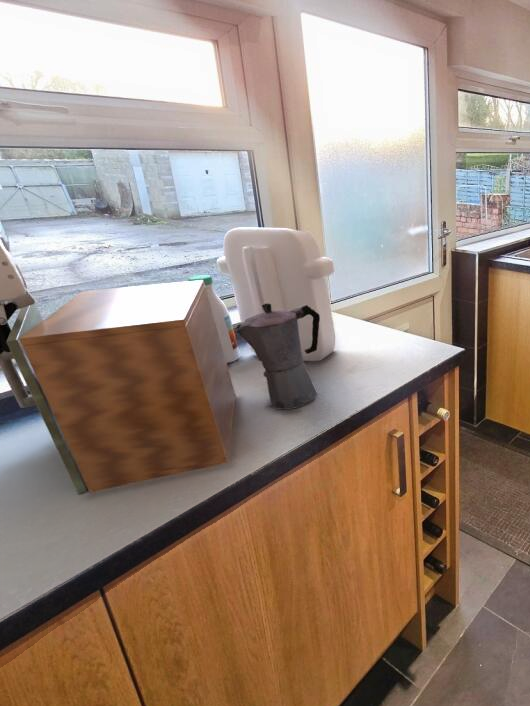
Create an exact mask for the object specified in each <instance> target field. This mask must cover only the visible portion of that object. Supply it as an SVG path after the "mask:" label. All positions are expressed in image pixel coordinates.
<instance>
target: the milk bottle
mask: <svg viewBox="0 0 530 706" xmlns="http://www.w3.org/2000/svg"><path fill="white" fill-rule="evenodd" d="M198 280H204V283H205V287H206V291H207V294H208V298H209V301H210V305H211V309H212V312H213V316H214V319H215V323H216V327H217V330H218V334H219V337H220V341H221V345H222V348H223V352H224V355H225V359H226V363H227V364H229V363H232V362H235V361H237V360H238V359H240V357H241V353H240V349H239V344H238V341H237V337H236V332H234V327H233V323H232V319H231V315H230V313H229V310H228V308H227V306H226V304H225V303H224V301H223V300H222V299H221V298H220V296H218V294H217V292H216V290H215V289H214V285H215V284H214V281H213V277H212V276H211V275H209V274H201V275H199V274H198V275H193V276H190V277H188V279H187V281H198Z"/></svg>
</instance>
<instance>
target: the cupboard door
mask: <svg viewBox="0 0 530 706" xmlns="http://www.w3.org/2000/svg"><path fill="white" fill-rule="evenodd" d="M36 303H37V302H35V303H34V304H32V305H29V306H27V307H24V308H21V309H19V311H18V313H17V316H16V319H15V321H14V323H13V325H12V328H11V332H10V334H9V337H8V339H7V341H6V342H7V344H8V346H9V349H10V351H11V352H5V351H4V352H2V354H0V369H1V371H2V373H3V375H4V378H5V380H6V382H7V383H8V385H9V387H10V390H11V392H12V394H13V396H14V397H15V400H16V402H17V404H18V405H19V408H22V409H25V408H29V407H35V406H36V407H37V409H38V411H39V414H40V416H41V418H42V420H43V423H44V425H45V427H46V428H47V431H48V433H49V435H50V437H51V439H52V441H53V444H54V445H55V448H56V450H57V452H58V454H59V456H60V458H61V460H62V462H63V465H64V466H65V469H66V471H67V473H68V475H69V477H70V479H71V481H72V483H73V485H74V487H75V491H76V492H77V494H78V495H82V494H85V493H87V492H88V487H87V485H86V483H85V481H84V479H83V477H82V474H81V472H80V470H79V468H78V466H77V464H76V461H75V459H74V457H73V455H72V453H71V451H70V448H69V446H68V444H67V442H66V440H65V438H64V435H63V433H62V431H61V429H60V427H59V425H58V422H57V420H56V418H55V416H54V414H53V412H52V409H51V407H50V405H49V403H48V401H47V399H46V396H45V394H44V392H43V390H42V388H41V386H40V383H39V381H38V379H37V377H36V375H35V373H34V370H33V368H32V366H31V364H30V362H29V360H28V357H27V355H26V353H25V351H24V349H23V347H22V344H21V342H20V340H19V338H20V337H22V336H23V335H24V334H26V333H27V332H28V331H30V330H31V329H32V328H34V327H35V326H36V325H38V324H39V323H40V322H42V321H43V320H44V319H43V317H42V315H41V312H40V310H39V308H38V305H37V304H36ZM13 360H14V361H13ZM14 362H15V363H16V365H17V368H18V369H17V368H16V365H15V363H14ZM18 370H19V372H20V374H21V376H22V378H23V380H24V382H25V384H26V386H27V387H26V386H25V384H24V382H23V380H22V378H21V376H20V374H19V372H18ZM26 388H27V389H28V390H29V393H30V394H29V393H28V391H27V389H26Z"/></svg>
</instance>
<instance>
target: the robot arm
mask: <svg viewBox="0 0 530 706" xmlns="http://www.w3.org/2000/svg"><path fill="white" fill-rule="evenodd" d="M34 303H36V299H35V297H34V296H33V295H32V294H31V292H30V291H29V290H28V286H27V283H26V280H25V278H24V276H23V273H22V271H21V269H20V267H19V265H18V263H17V261H16V259H15V257H14V256H13V254H12V252H11V250H10V248H9V246H8V244H7V243H6V241H5V240H4V238H3V237H2V235H1V234H0V354H2V352H4V351H5V352H11V351H10V349H9V346H8V344H7V342H6V341H7V339H8V337H9V334H10V332H11V330H12V328H11V327H10V324H9V322H8V321H9V320H10V319H11V318H12V316H13V315H14V314H15V313H16V311H17V310H20V309H21V308H24V307H27V306H29V305H32V304H34Z"/></svg>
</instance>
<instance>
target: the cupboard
mask: <svg viewBox="0 0 530 706" xmlns="http://www.w3.org/2000/svg"><path fill="white" fill-rule="evenodd" d="M19 340H20V342H21V344H22V347H23V349H24V351H25V353H26V355H27V357H28V360H29V362H30V364H31V366H32V368H33V370H34V373H35V375H36V377H37V379H38V381H39V383H40V386H41V388H42V390H43V392H44V394H45V396H46V399H47V401H48V403H49V405H50V407H51V409H52V412H53V414H54V416H55V418H56V420H57V422H58V425H59V427H60V429H61V431H62V433H63V435H64V438H65V440H66V442H67V444H68V446H69V448H70V451H71V453H72V455H73V457H74V459H75V461H76V464H77V466H78V468H79V470H80V472H81V474H82V477H83V479H84V481H85V483H86V485H87V491H88V492H89V493H94V492H98V491H103V490H108V489H112V488H117V487H122V486H126V485H131V484H136V483H140V482H145V481H149V480H155V479H159V478H164V477H169V476H172V475H178V474H182V473H186V472H192V471H196V470H201V469H206V468H210V467H216V466H220V465H224V464H227V463H228V462H229V454H230V449H231V448H230V447H231V439H232V433H233V423H234V416H235V409H236V401H237V395H236V392H235V387H234V384H233V380H232V377H231V373H230V370H229V366H228V363H226V359H225V355H224V352H223V348H222V345H221V341H220V337H219V334H218V330H217V327H216V323H215V319H214V316H213V312H212V309H211V305H210V301H209V298H208V294H207V291H206V287H205V283H204V280H198V281H188V280H187V281H178V282H167V283H156V284H145V285H144V284H143V285H134V286H123V287H113V288H111V287H110V288H101V289H92V290H82V291H81V292H79V293H78V294H76V296H74V297H72V298H71V299H70V300H69V301H67V302H66V303H64V304H63V305H62V306H61V307H59V308H58V309H56V310H55V311H54V312H52V313H51V314H50V315H49V316H47V317H46V318H44V319H43V321H42V322H40V323H39V324H38V325H36V326H35V327H34V328H32V329H31V330H30V331H28V332H27V333H26V334H24V335H23V336H22V337H20V338H19ZM228 464H229V463H228Z"/></svg>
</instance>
